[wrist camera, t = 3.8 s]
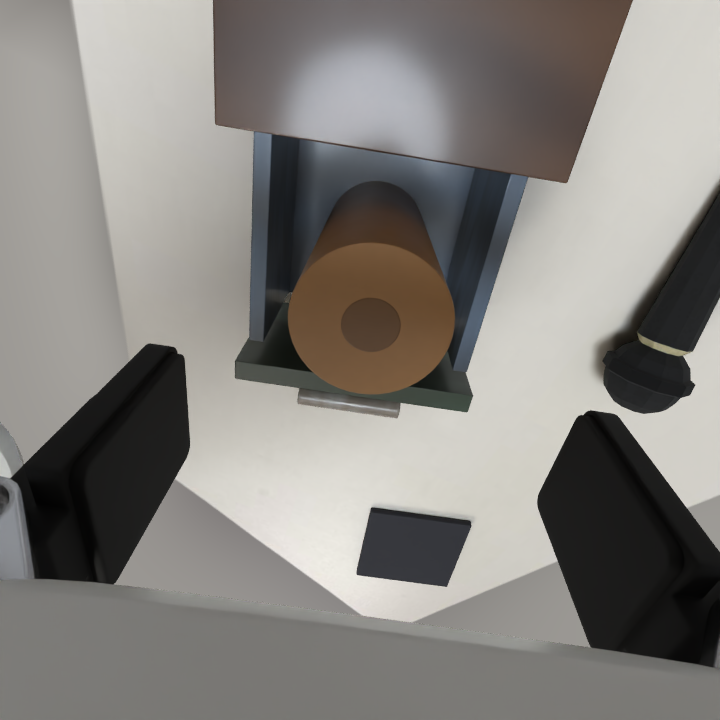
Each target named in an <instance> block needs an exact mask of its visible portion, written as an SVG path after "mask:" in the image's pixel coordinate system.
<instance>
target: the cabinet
mask: <svg viewBox="0 0 720 720" xmlns="http://www.w3.org/2000/svg"><path fill="white" fill-rule="evenodd" d="M632 1H633V0H213V28H214V88H215V124H216V125H219V126H225V127H231V128H237V129H243V130H249V131H255V132H261V133H267V134H273V135H279V136H285V137H291V138H297V139H303V140H309V141H315V142H321V143H327V144H333V145H339V146H345V147H351V148H357V149H363V150H369V151H375V152H381V153H387V154H393V155H399V156H405V157H411V158H417V159H423V160H429V161H435V162H441V163H447V164H453V165H459V166H465V167H471V168H477V169H483V170H489V171H495V172H501V173H508V174H514V175H520V176H526V177H532V178H538V179H544V180H550V181H556V182H562V183H567V182H568V179H569V176H570V174H571V171H572V168H573V165H574V162H575V160H576V157H577V154H578V151H579V148H580V146H581V143H582V140H583V137H584V135H585V132H586V129H587V126H588V123H589V121H590V118H591V115H592V112H593V110H594V107H595V104H596V101H597V98H598V96H599V93H600V90H601V87H602V84H603V82H604V79H605V76H606V73H607V71H608V68H609V65H610V62H611V59H612V57H613V54H614V51H615V48H616V46H617V43H618V40H619V37H620V34H621V32H622V29H623V26H624V23H625V20H626V18H627V15H628V12H629V9H630V7H631V4H632Z"/></svg>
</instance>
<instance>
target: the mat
mask: <svg viewBox="0 0 720 720" xmlns="http://www.w3.org/2000/svg"><path fill="white" fill-rule="evenodd" d="M470 528H471V522H470V521H464V520H457V519H450V518H442V517H435V516H428V515H420V514H413V513H406V512H398V511H391V510H384V509H376V508H371V511H370V515H369V520H368V524H367V528H366V533H365V537H364V541H363V546H362V550H361V554H360V559H359V563H358V567H357V575H361V576H368V577H376V578H384V579H391V580H399V581H407V582H414V583H422V584H429V585H437V586H445V587H447V585H448V582H449V580H450V578H451V575H452V573H453V570H454V568H455V565H456V563H457V560H458V558H459V555H460V553H461V550H462V548H463V545H464V543H465V541H466V538H467V536H468V533H469V531H470Z"/></svg>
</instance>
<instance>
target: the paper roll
mask: <svg viewBox="0 0 720 720" xmlns="http://www.w3.org/2000/svg"><path fill="white" fill-rule="evenodd" d="M288 326H289V333H290V336H291V339H292V342H293V345H294V347H295V349H296V351H297V353H298V355H299V356H300V358H301V359H302V361H303V362H304V363H305V364H306V366H307V367H308V368H309V369H310V370H311V371H312V372H313V373H314V374H316V375H317V376H318V377H320V378H321V379H322V380H324V381H326V382H327V383H329V384H331V385H333V386H335V387H337V388H340V389H343V390H346V391H349V392H354V393H359V394H384V393H390V392H394V391H398V390H401V389H404V388H407V387H409V386H411V385H413V384H415V383H417V382H418V381H420V380H421V379H423V378H424V377H426V376H427V375H428V374H429V373H430V372H431V371H432V370H433V369H434V368H435V367H436V366H437V365H438V364H439V363H440V361H441V360H442V358H443V357H444V355H445V354H446V352H447V350H448V348H449V346H450V343H451V340H452V337H453V332H454V326H455V312H454V305H453V301H452V297H451V294H450V291H449V289H448V286H447V283H446V281H445V278H444V275H443V273H442V270H441V267H440V265H439V262H438V259H437V256H436V254H435V251H434V248H433V246H432V243H431V240H430V238H429V235H428V232H427V230H426V227H425V224H424V221H423V219H422V216H421V213H420V211H419V208H418V206H417V205H416V203H415V201H414V200H413V199H412V197H411V196H410V195H409V194H408V193H407V192H405V191H404V190H403V189H401V188H400V187H398V186H396V185H393V184H391V183H387V182H382V181H370V182H364V183H361V184H358V185H356V186H354V187H352V188H351V189H349V190H348V191H346V192H345V193H344V194H343V195H342V196H341V197H340V198H339V200H338V201H337V202H336V204H335V206H334V208H333V210H332V212H331V214H330V216H329V218H328V220H327V222H326V224H325V226H324V228H323V230H322V232H321V234H320V236H319V238H318V241H317V243H316V245H315V247H314V249H313V251H312V253H311V255H310V257H309V259H308V261H307V263H306V265H305V267H304V269H303V271H302V273H301V276H300V278H299V280H298V282H297V284H296V286H295V288H294V290H293V292H292V296H291V299H290V302H289V309H288Z"/></svg>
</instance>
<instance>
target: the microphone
mask: <svg viewBox="0 0 720 720" xmlns="http://www.w3.org/2000/svg"><path fill="white" fill-rule="evenodd" d="M719 298H720V194H719V195H718V197H717V199H716V200H715V202H714V204H713V205H712V207H711V209H710V211H709V212H708V214H707V216H706V217H705V219H704V221H703V222H702V224H701V226H700V227H699V229H698V231H697V232H696V234H695V236H694V237H693V239H692V241H691V242H690V244H689V246H688V247H687V249H686V251H685V252H684V254H683V256H682V257H681V259H680V261H679V262H678V264H677V266H676V267H675V269H674V271H673V272H672V274H671V276H670V277H669V279H668V281H667V282H666V284H665V286H664V287H663V289H662V291H661V292H660V294H659V296H658V297H657V299H656V301H655V302H654V304H653V306H652V308H651V309H650V311H649V313H648V314H647V316H646V318H645V319H644V321H643V323H642V324H641V326H640V328H639V329H638V331H637V334H638V337H639V340H638V341H634V342H631V343H627V344H624V345H622V346H621V347H619V348H618V349H617V350H615V351H608V352H607V354H606V356H605V357H604V359H603V362H604V364H605V366H606V367H605V371H604V386H605V387H606V389H607V391H608V393H609V394H610V396H611V397H612V399H613V401H615V402H616V403H618V404H619V405H621V406H622V407H625V408H627V409H629V410H632V411H634V412H638V413H643V414H646V413H655V412H661V411H664V410H666V409H668V408H669V407H671V406H672V405H674V404H675V403H676V402H677V401H678V400H679V399H680V398H682V397H685V396H689V395H690V394H691V392H692V390H693V388H694V386H695V384H694V383H693V382H692V381H691V380H690V368H689V366H688V364H687V362H686V361H685V359H684V357H683V355H685V354H688V353H690V352H692V351H693V350H694V348H695V346H696V344H697V342H698V340H699V338H700V336H701V334H702V332H703V330H704V328H705V326H706V324H707V322H708V320H709V318H710V316H711V314H712V312H713V310H714V308H715V306H716V304H717V302H718V300H719Z"/></svg>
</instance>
